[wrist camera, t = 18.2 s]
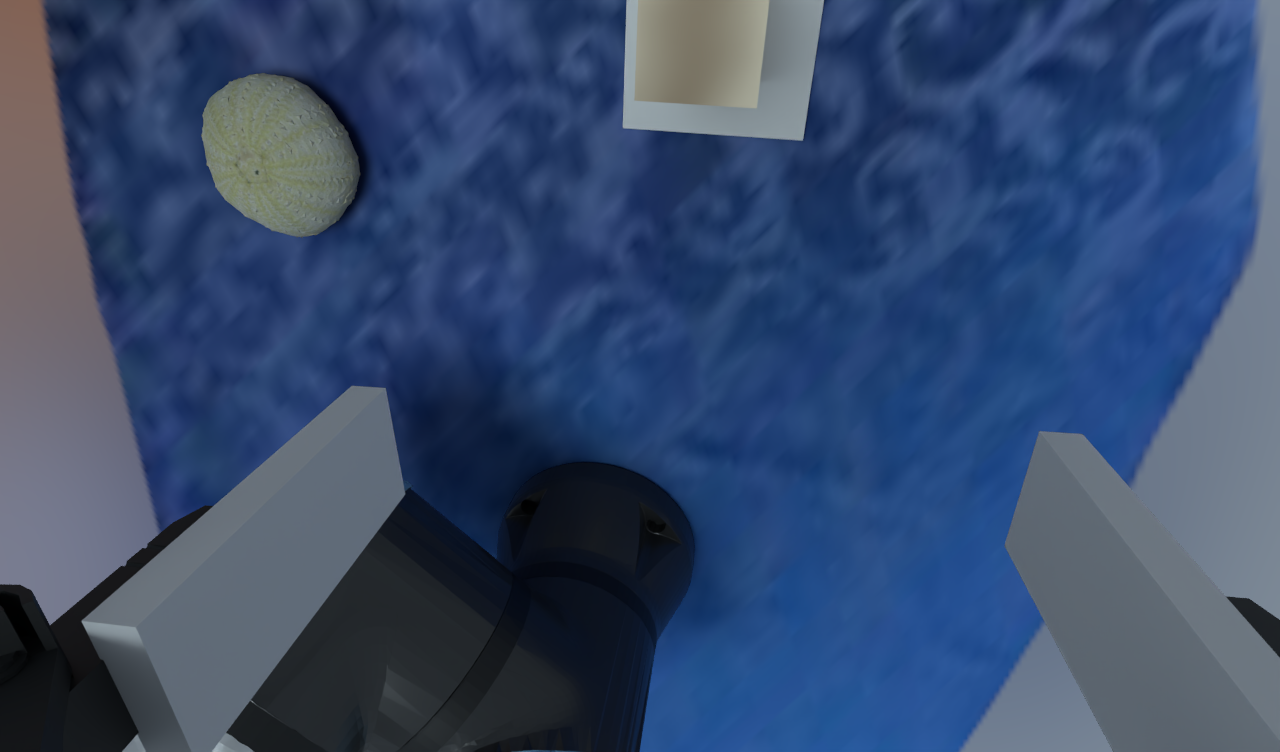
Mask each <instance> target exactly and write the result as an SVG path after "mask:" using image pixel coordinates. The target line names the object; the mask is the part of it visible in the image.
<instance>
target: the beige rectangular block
mask: <svg viewBox="0 0 1280 752" xmlns="http://www.w3.org/2000/svg"><path fill="white" fill-rule="evenodd" d="M769 1H770V0H638V17H637V44H636V71H635V98H634V101H648V102H663V103H679V104H694V105H710V106H725V107H741V108H756V109H757V103H758V95H759V86H760V78H761V69H762V60H763V52H764V43H765V35H766V26H767V18H768V9H769Z"/></svg>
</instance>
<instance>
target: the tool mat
mask: <svg viewBox="0 0 1280 752" xmlns="http://www.w3.org/2000/svg"><path fill="white" fill-rule="evenodd" d="M823 4H824V0H770V1H769V9H768V18H767V26H766V35H765V43H764V52H763V60H762V69H761V78H760V86H759V95H758V103H757V109H756V108H741V107H725V106H710V105H694V104H679V103H663V102H648V101H634V98H635V71H636V44H637V17H638V0H627V8H626V41H625V74H624V107H623V128H628V129H643V130H657V131H671V132H686V133H700V134H714V135H729V136H743V137H758V138H772V139H786V140H801V141H803V137H804V130H805V124H806V117H807V110H808V104H809V97H810V90H811V84H812V77H813V70H814V64H815V57H816V51H817V44H818V37H819V31H820V24H821V17H822V11H823Z"/></svg>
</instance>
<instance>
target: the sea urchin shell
mask: <svg viewBox="0 0 1280 752" xmlns="http://www.w3.org/2000/svg"><path fill="white" fill-rule="evenodd" d="M203 122H204V125H203V128H202V130H203V133H202V135H201V136H202V140H203V141H204V147H205V154H206V159H207V164H206V165H207V166H208V167H209V168H210V171H211V173H212V176H213V180H214V182H215V187H216V188H217V189H218V191H219V192H220V193H221V195H222V196H223V197H224V199H225V200H226V201H228V202H229V203H230V204H231V205H233V206H234V207H235V208H236V209H238V210H239V211H240V212H242V214H244V216H245V217H248V218H251V219H252V220H254V221H256V222H258V223H260V224H262V225H264V226H265V227H267V228H270V229H271V230H272V231H277V232H281V233H284V234H288V235H292V236H296V237H301V238H302V237H303V236H311V235H317V234H319V233H320V232H323V231H324V230H326V229H327V228H328V227H329V226H330V225H332V224H334V223H335V222H336V221H339V218H340V217H341V216H342V215H343V213H344V211H345V209H346V208H347V206H348V205H350V204H351V203H352V200H353V199H354V198H355V197H354V195H355V192H356V191H357V189H356V188H357V184H358V181H359V176H360V175H361V174H360V170H359V162H358V158H359V157H358V156H357V154H356V152H355V150H354V148H353V145H352V142H351V140H350V138H349V136H348V132H347V131H346V130H345V129H344V126H343V125H342V124H341V123H340V122H339V121H338V119H337V118H336V116H335V114H334V113H333V111H332V110H331V108H330V107H329V105H327V104H326V103H325V102H324V101H323V100H322V99H320V98H319V97H318V96H317V95H316V94H315V93H314V92H313V91H312V90H311V89H310V88H309V87H308V86H306V85H304V84H302V83H301V82H299V81H297V80H294V78H290V77H285V76H277V75H269V74H265V73H261V74H254V75H249V76H247V77H245V78H241V79H240V78H239V79H237V80H234V81H233V82H230V81H229V83H228V85H226V86H225V87H224V88H223V89H221V90H219V91H217V92H216V93H215V94H214V95H213V96H212V97H211V98H210V99H209V101H208V103H207V106H206V108H205V109H204V112H203Z"/></svg>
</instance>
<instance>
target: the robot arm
mask: <svg viewBox="0 0 1280 752" xmlns="http://www.w3.org/2000/svg"><path fill="white" fill-rule="evenodd" d="M412 487H413V486H412V485H411V484H410V483H409V482H408V481H403V479H402V474H401V468H400V463H399V457H398V452H397V447H396V441H395V436H394V430H393V425H392V420H391V414H390V409H389V404H388V398H387V393H386V388H376V387H361V386H351V387H350V388H349V389H348V390H347V391H346V392H344V393H343V394H342V395H341V396H340V397H339V398H337V399H336V400H335V401H334V402H333V403H332V404H331V405H329V406H328V407H327V408H326V409H325V410H324V411H322V412H321V413H320V414H319V415H318V416H317V417H316V418H314V419H313V420H312V421H311V422H310V423H309V424H308V425H306V426H305V427H304V428H303V429H302V430H301V431H299V432H298V433H297V434H296V435H295V436H294V437H293V438H291V439H290V440H289V441H288V442H287V443H286V444H284V445H283V446H282V447H281V448H280V449H279V450H278V451H276V452H275V453H274V454H273V455H272V456H271V457H270V458H268V459H267V460H266V461H265V462H264V463H263V464H261V465H260V466H259V467H258V468H257V469H256V470H255V471H253V472H252V473H251V474H250V475H249V476H248V477H247V478H245V479H244V480H243V481H242V482H241V483H240V484H238V485H237V486H236V487H235V488H234V489H233V490H232V491H230V492H229V493H228V494H227V495H226V496H225V497H223V498H222V499H221V500H220V501H219V502H218V503H217V504H215V505H214V506H203V507H202V508H200V509H198V510H196V511H194V512H192V513H190V514H188V515H187V516H185V517H183V518H181V519H179V520H177V521H175V522H173V523H172V524H171V525H170V526H168V527H167V528H166V529H165V530H164V531H162V532H161V533H160V534H159V535H158V536H156V537H155V538H154V539H153V540H152V541H151V542H149V543H148V546H147V548H146V549H145V548H142V549H141V550H140V551H139V552H138V553H136V554H135V555H134V556H133V557H131V558H130V559H129V560H128V561H127V564H126V566H121V567H119V568H118V569H117V570H116V571H115V572H114V573H112V574H111V575H110V576H109V577H108V578H106V579H105V580H104V581H103V582H101V583H100V584H99V585H98V586H97V587H96V588H94V589H93V590H92V591H91V592H90V593H88V594H87V595H86V596H85V597H84V598H82V599H81V600H80V601H79V602H77V603H76V604H75V605H74V606H73V607H72V608H70V609H69V610H68V611H67V612H66V613H65V614H63V615H62V616H61V617H60V618H58V619H57V620H56V621H55V622H54V623H52V624H51V625H49V623H48V621H47V619H46V617H45V615H44V613H43V612H42V610H41V608H40V606H39V604H38V602H37V600H36V598H35V596H34V594H33V592H32V591H31V590H29V589H27V588H25V587H23V586H21V585H0V752H639V751H640V745H641V738H642V732H643V725H644V719H645V712H646V706H647V699H648V693H649V687H650V680H651V674H652V667H653V661H654V654H655V648H656V643H657V640H658V638H659V637H660V635H661V634H662V632H663V630H664V629H665V627H666V626H667V624H668V622H669V621H670V619H671V618H672V616H673V614H674V613H675V611H676V610H677V608H678V606H679V605H680V603H681V602H682V600H683V598H684V597H685V595H686V593H687V590H688V587H689V584H690V581H691V576H692V570H693V562H694V552H695V549H694V539H693V535H692V531H691V528H690V526H689V523H688V521H687V519H686V517H685V516H684V514H683V512H682V511H681V509H680V508H679V507H678V505H677V504H676V503H675V502H674V501H673V500H672V499H671V498H670V497H669V496H668V495H667V494H666V493H665V492H664V491H663V490H662V489H660V488H659V487H658V486H656V485H655V484H653V483H652V482H650V481H649V480H647V479H645V478H643V477H641V476H639V475H637V474H635V473H633V472H631V471H628V470H625V469H622V468H619V467H615V466H611V465H606V464H600V463H570V464H564V465H560V466H556V467H553V468H550V469H547V470H545V471H543V472H541V473H539V474H537V475H535V476H534V477H532V478H531V479H530V480H528V481H527V482H526V483H525V484H524V485H523V486H522V487H521V488H520V489H519V490H518V492H517V493H516V494H515V496H514V498H513V500H512V501H511V503H510V505H509V507H508V509H507V511H506V513H505V515H504V517H503V519H502V522H501V525H500V529H499V533H498V543H497V560H496V559H495V558H494V557H493V556H491V555H490V554H489V553H488V552H487V551H485V550H484V549H483V548H482V547H481V546H479V545H478V544H477V543H476V542H475V541H473V540H472V539H471V538H470V537H468V536H467V535H466V534H465V533H464V532H462V531H461V530H460V529H459V528H458V527H456V526H455V525H454V524H453V523H452V522H450V521H449V520H448V519H447V518H445V517H444V516H443V515H442V514H441V513H439V512H438V511H437V510H436V509H435V508H433V507H432V506H431V505H430V504H429V503H427V502H426V501H425V500H424V499H422V498H421V497H420V496H419V495H418V494H416V493H415V492H414V491H413V490H412V489H410V488H412ZM1005 548H1006V549H1007V551H1008V553H1009V555H1010V557H1011V559H1012V561H1013V563H1014V565H1015V567H1016V568H1017V570H1018V572H1019V574H1020V576H1021V578H1022V580H1023V582H1024V584H1025V585H1026V587H1027V589H1028V591H1029V593H1030V595H1031V597H1032V599H1033V601H1034V603H1035V604H1036V606H1037V608H1038V610H1039V612H1040V614H1041V616H1042V618H1043V620H1044V621H1045V623H1046V625H1047V627H1048V629H1049V631H1050V633H1051V635H1052V636H1053V638H1054V640H1055V642H1056V644H1057V646H1058V648H1059V650H1060V652H1061V654H1062V656H1063V657H1064V659H1065V661H1066V663H1067V665H1068V667H1069V669H1070V670H1071V673H1072V674H1073V676H1074V678H1075V680H1076V682H1077V684H1078V686H1079V687H1080V690H1081V692H1082V693H1083V695H1084V697H1085V699H1086V701H1087V703H1088V705H1089V706H1090V709H1091V710H1092V712H1093V714H1094V716H1095V718H1096V720H1097V722H1098V724H1099V726H1100V727H1101V729H1102V731H1103V733H1104V735H1105V737H1106V739H1107V741H1108V743H1109V744H1110V746H1111V748H1112V750H1113V752H1280V620H1279V619H1278V618H1276V617H1274V616H1273V615H1272V614H1270V613H1269V612H1267V611H1266V610H1264V609H1263V608H1262V607H1260V606H1259V605H1257V604H1256V603H1254V602H1253V601H1252V600H1250V599H1247V598H1235V597H1226V596H1225V595H1224V594H1223V593H1222V592H1221V591H1220V589H1218V587H1217V586H1216V585H1215V584H1214V583H1213V582H1212V580H1211V579H1210V578H1209V577H1208V576H1207V575H1206V574H1205V573H1204V572H1203V570H1202V569H1201V568H1200V567H1199V566H1198V565H1197V563H1196V562H1195V561H1194V560H1193V559H1192V558H1191V557H1190V555H1189V554H1188V553H1187V552H1186V551H1185V550H1184V549H1183V548H1182V546H1180V544H1179V543H1178V542H1177V541H1176V540H1175V539H1174V537H1173V536H1172V535H1171V534H1170V533H1169V532H1168V531H1167V530H1166V528H1165V527H1164V526H1163V525H1162V524H1161V523H1160V521H1159V520H1158V519H1157V518H1156V517H1155V516H1154V515H1153V514H1152V512H1151V511H1150V510H1149V509H1148V508H1147V507H1146V506H1145V505H1144V503H1143V502H1142V501H1141V500H1140V499H1139V498H1138V497H1137V495H1136V494H1135V493H1134V492H1133V491H1132V490H1131V489H1130V487H1129V486H1128V485H1127V484H1126V483H1125V482H1124V481H1123V480H1122V478H1121V477H1120V476H1119V475H1118V474H1117V473H1116V472H1115V470H1114V469H1113V468H1112V467H1111V466H1110V465H1109V464H1108V463H1107V461H1106V460H1105V459H1104V458H1103V457H1102V456H1101V455H1100V453H1099V452H1098V451H1097V450H1096V449H1095V448H1094V447H1093V446H1092V444H1091V443H1090V442H1089V441H1088V440H1087V439H1086V438H1085V436H1084V435H1083V434H1072V433H1057V432H1042V431H1039V434H1038V437H1037V441H1036V444H1035V447H1034V450H1033V454H1032V457H1031V460H1030V464H1029V467H1028V470H1027V473H1026V477H1025V480H1024V483H1023V486H1022V490H1021V493H1020V496H1019V500H1018V503H1017V506H1016V509H1015V513H1014V516H1013V519H1012V523H1011V526H1010V529H1009V532H1008V536H1007V539H1006V542H1005Z"/></svg>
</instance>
